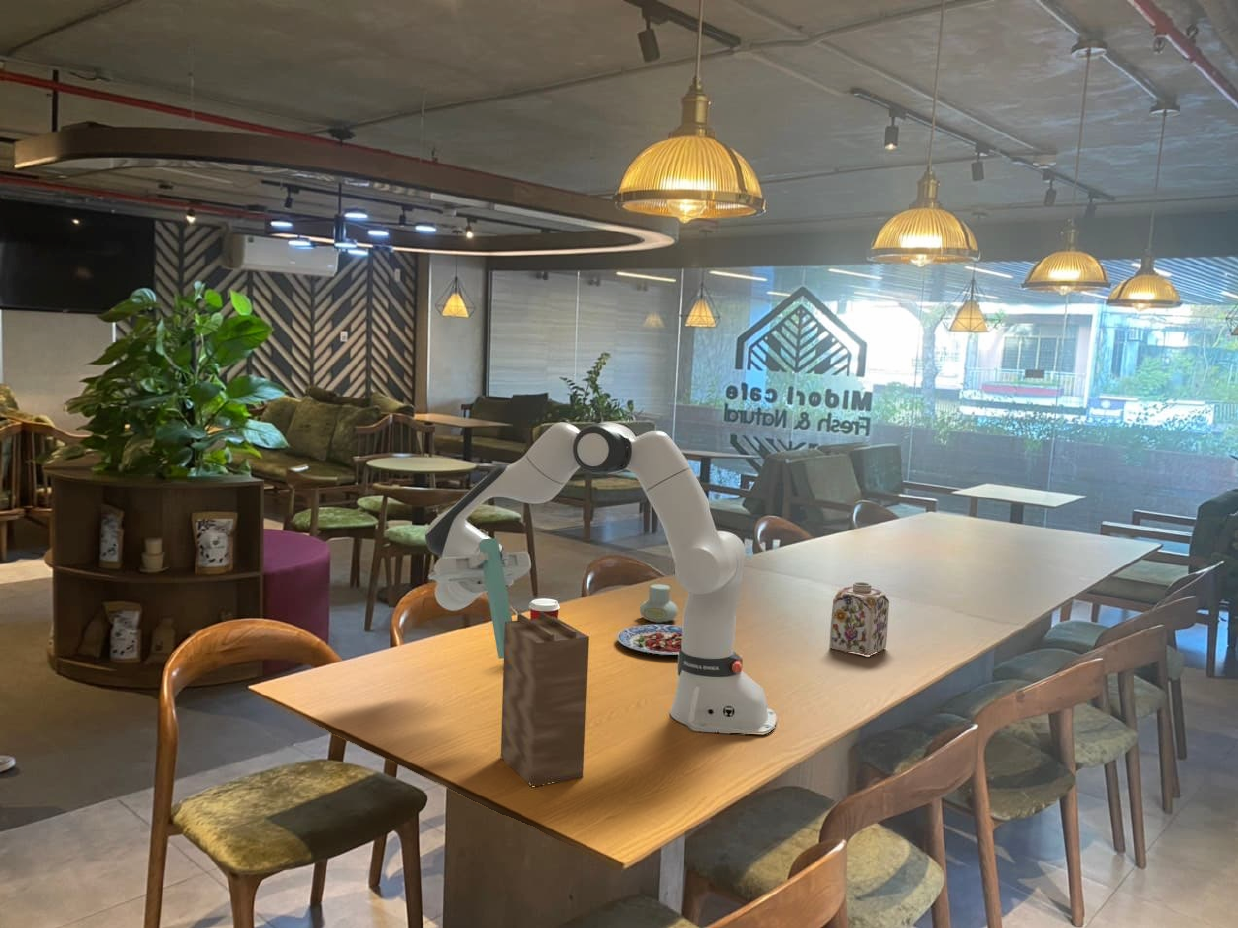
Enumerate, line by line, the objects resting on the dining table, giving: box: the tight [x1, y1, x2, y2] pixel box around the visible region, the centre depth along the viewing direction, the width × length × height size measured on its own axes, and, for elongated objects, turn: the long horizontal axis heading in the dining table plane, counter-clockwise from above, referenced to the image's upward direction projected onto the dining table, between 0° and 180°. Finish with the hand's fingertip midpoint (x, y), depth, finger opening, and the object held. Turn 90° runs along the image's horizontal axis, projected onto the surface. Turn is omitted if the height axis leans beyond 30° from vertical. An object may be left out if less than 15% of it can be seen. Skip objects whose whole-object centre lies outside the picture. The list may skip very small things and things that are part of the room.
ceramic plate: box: [616, 624, 682, 656], centre depth 254 cm, size 26×26×3 cm
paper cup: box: [528, 598, 561, 619], centre depth 240 cm, size 8×8×14 cm
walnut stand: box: [500, 612, 590, 786], centre depth 175 cm, size 14×10×27 cm
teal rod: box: [479, 537, 513, 660], centre depth 194 cm, size 24×3×3 cm
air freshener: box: [639, 583, 679, 624], centre depth 278 cm, size 11×8×10 cm
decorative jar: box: [828, 581, 890, 655], centre depth 258 cm, size 12×12×18 cm
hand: (495, 555), depth 195 cm, fingers closed on teal rod, 3 cm apart
